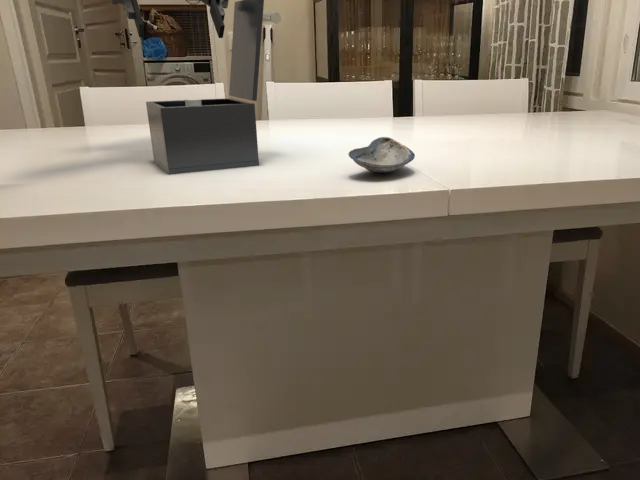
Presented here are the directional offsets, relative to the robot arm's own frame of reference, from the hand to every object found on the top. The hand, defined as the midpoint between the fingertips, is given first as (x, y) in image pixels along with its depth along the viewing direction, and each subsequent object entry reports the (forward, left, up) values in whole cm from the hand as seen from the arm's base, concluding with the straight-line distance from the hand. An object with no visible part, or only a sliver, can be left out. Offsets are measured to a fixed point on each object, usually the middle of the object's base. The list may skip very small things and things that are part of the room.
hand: (182, 31), depth 96 cm
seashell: (+25, -25, -23) cm, 42 cm away
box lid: (+10, -2, -3) cm, 10 cm away
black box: (+1, -2, -23) cm, 23 cm away
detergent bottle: (0, -2, -22) cm, 22 cm away
